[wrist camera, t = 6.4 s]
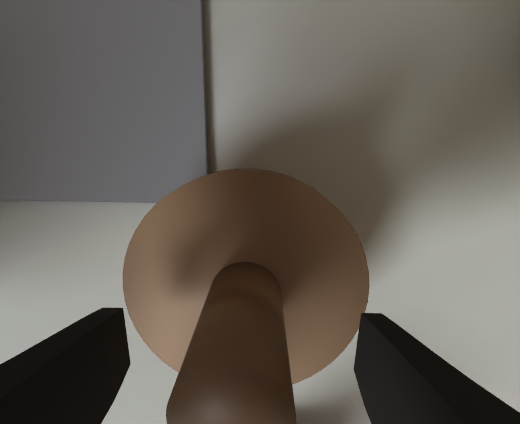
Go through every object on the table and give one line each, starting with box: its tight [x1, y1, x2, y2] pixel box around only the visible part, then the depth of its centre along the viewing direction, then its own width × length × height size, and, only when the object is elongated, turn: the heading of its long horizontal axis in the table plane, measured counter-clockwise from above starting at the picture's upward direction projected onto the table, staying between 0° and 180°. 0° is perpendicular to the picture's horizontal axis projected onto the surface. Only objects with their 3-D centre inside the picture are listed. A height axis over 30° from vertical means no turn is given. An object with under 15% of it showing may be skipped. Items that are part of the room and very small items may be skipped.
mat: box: [0, 0, 208, 203], centre depth 11 cm, size 14×14×1 cm
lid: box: [123, 169, 369, 424], centre depth 8 cm, size 9×9×5 cm
